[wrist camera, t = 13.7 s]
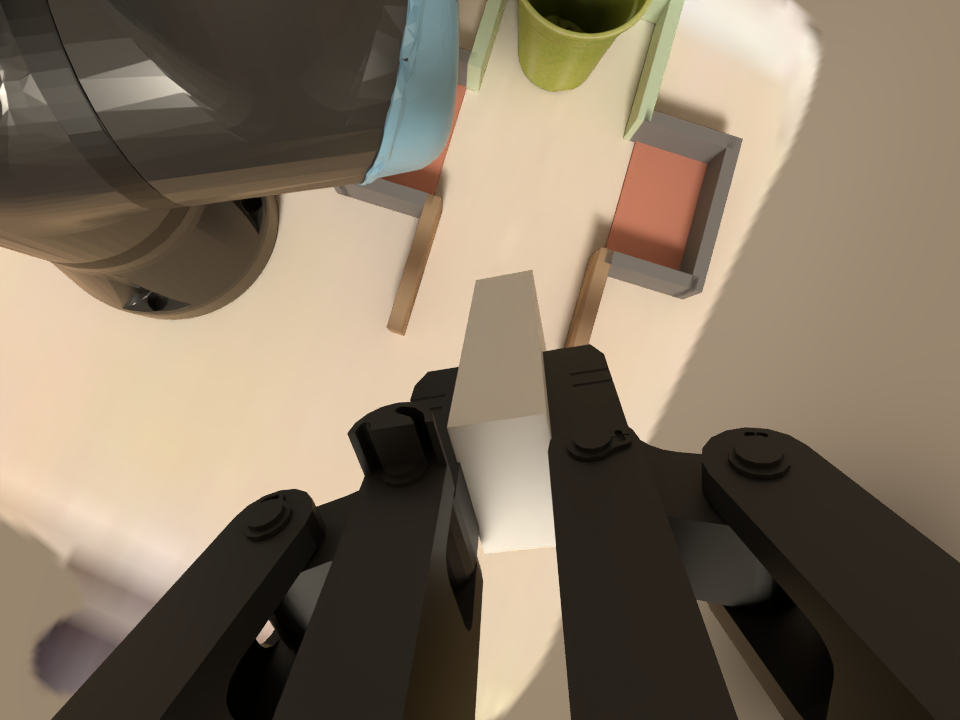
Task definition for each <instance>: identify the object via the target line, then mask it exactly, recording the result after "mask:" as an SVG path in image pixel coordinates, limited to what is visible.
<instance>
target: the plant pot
mask: <svg viewBox="0 0 960 720" xmlns="http://www.w3.org/2000/svg"><path fill="white" fill-rule="evenodd" d="M518 1H519V33H518V56H519V61H520V64H521V68H522V70H523V72H524V74H525V75H526V76H527V78H528V79H529V80H530V81H531V82H532V83H534V84H535V85H536V86H538V87H540V88H542V89H544V90H547V91H551V92H555V91H562V90H572V89H574V88H576V87H578V86H579V85H581V84H582V83H583V82H584V81H585V80H586V79H587V78H588V76H589V75H590V73H591V72H592V71H593V69H594V68H595V67H596V65H597V64H598V62H599V61H600V59H601V58H602V57H603V55H604V54H605V52H606V51H607V50H608V48H609V47H610V46H611V44H612V43H613V41H614V40H615V39H616V37H617V36H618V35H620V34H621V33H623V32H624V31H626V30H628V29H629V28H630V27H632V26H633V25H634V24H635V23H636V22H638V20H639V19H640V18H641V17H642V16H643V15H644V13H645V12H646V10H647V9H648V7H649V6H650V4H651V2H652V0H518ZM565 28H570V29H572V30H574V31H575V32H573V31H569V30H566V29H565Z"/></svg>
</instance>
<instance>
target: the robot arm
mask: <svg viewBox="0 0 960 720" xmlns="http://www.w3.org/2000/svg"><path fill="white" fill-rule="evenodd" d="M458 62H459V3H458V0H0V247H4V248H7V249H10V250H14V251H17V252H20V253H23V254H27V255H30V256H33V257H36V258H40V259H44V260H47V261H50V262H51V263H53V264H54V265H55V266H56V267H57V268H58V269H60V270H61V271H62V272H63V273H64V274H65V275H67V276H68V277H69V278H70V279H71V280H72V281H74V282H75V283H76V284H77V285H78V286H79V287H81V288H82V289H83V290H84V291H86V292H87V293H88V294H90V295H91V296H93V297H94V298H96V299H98V300H100V301H101V302H103V303H105V304H107V305H110V306H112V307H114V308H117V309H119V310H122V311H126V312H129V313H133V314H138V315H142V316H146V317H151V318H157V319H171V320H175V319H187V318H193V317H198V316H201V315H205V314H208V313H210V312H213V311H215V310H218V309H220V308H222V307H224V306H226V305H227V304H229V303H231V302H232V301H234V300H235V299H236V298H238V297H239V296H240V295H242V294H243V293H244V292H245V291H246V290H247V289H248V288H249V287H250V286H251V285H252V284H253V283H254V282H255V280H256V279H257V278H258V277H259V275H260V274H261V272H262V271H263V269H264V268H265V266H266V264H267V262H268V260H269V258H270V256H271V253H272V250H273V247H274V244H275V240H276V235H277V228H278V209H277V202H276V197H275V195H277V194H284V193H292V192H299V191H306V190H314V189H321V188H328V187H336V186H343V185H350V184H359V185H366V184H371V183H372V182H373V181H375V180H376V179H377V178H381V177H386V176H390V175H395V174H400V173H405V172H410V171H415V170H419V169H422V168H424V167H425V166H427V165H429V164H431V162H432V161H434V160H435V159H437V158H438V157H439V155H440V154H441V153H442V151H443V150H444V148H445V146H446V144H447V141H448V139H449V136H450V132H451V128H452V124H453V118H454V111H455V104H456V95H457V82H458ZM410 401H411V402H401V403H395V404H391V405H387V406H384V407H381V408H379V409H377V410H375V411H373V412H370V413H368V414H367V415H365V416H364V417H363V418H361V419H360V420H359V421H357V422H356V423H355V424H354V425H353V427H352V428H351V429H350V431H349V432H348V433H347V434H348V436H349V439H350V441H351V444H352V446H353V448H354V451H355V453H356V456H357V458H358V461H359V463H360V465H361V468H362V470H363V473H364V475H365V477H364V480H363V482H362V485H361V487H360V490H359V491H357V492H355V493H352V494H350V495H348V496H345V497H342V498H340V499H337V500H334V501H331V502H329V503H326V504H323V505H320V506H317V507H316V506H315V504H314V502H313V499H312V498H311V497H310V496H309V495H308V493H307V492H304V491H301V490H297V489H290V490H280V491H277V492H275V493H272V494H268V495H266V496H264V497H262V498H260V499H259V500H257V501H255V502H253V503H252V504H250V505H248V506H247V507H246V508H245V509H244V510H243V511H242V512H240V513H239V514H238V515H237V516H236V517H235V518H234V519H233V520H232V521H231V522H230V523H229V524H228V525H227V527H226V528H225V529H224V530H223V531H222V532H221V533H220V534H219V535H218V536H217V538H216V539H215V540H214V541H213V542H212V543H211V544H210V545H209V546H208V547H207V549H206V550H205V551H204V552H203V553H202V554H201V555H200V556H199V557H198V558H197V560H196V561H195V562H194V563H193V564H192V565H191V566H190V567H189V568H188V569H187V571H186V572H185V573H184V574H183V575H182V576H181V577H180V578H179V579H178V580H177V582H176V583H175V584H174V585H173V586H172V587H171V588H170V589H169V590H168V591H167V593H166V594H165V595H164V596H163V597H162V598H161V599H160V600H159V601H158V602H157V604H156V605H155V606H154V607H153V608H152V609H151V610H150V611H149V612H148V613H147V615H146V616H145V617H144V618H143V619H142V620H141V621H140V622H139V623H138V624H137V626H136V627H135V628H134V629H133V630H132V631H131V632H130V633H129V634H128V635H127V637H126V638H125V639H124V640H123V641H122V642H121V643H120V644H119V645H118V646H117V648H116V649H115V650H114V651H113V652H112V653H111V654H110V655H109V656H108V658H107V659H106V660H105V661H104V662H103V663H102V664H101V665H100V666H99V667H98V669H97V670H96V671H95V672H94V673H93V674H92V675H91V676H90V677H89V678H88V680H87V681H86V682H85V683H84V684H83V685H82V686H81V687H80V688H79V689H78V691H77V692H76V693H75V694H74V695H73V696H72V697H71V698H70V699H69V700H68V702H67V703H66V704H65V705H64V706H63V707H62V708H61V709H60V711H59V712H58V713H57V714H56V715H55V716H54V717H53V718H52V720H475V708H476V691H477V674H478V658H479V641H480V624H481V607H482V591H483V578H482V572H481V568H480V565H479V561H478V558H477V549H478V536H479V537H480V540H481V544H482V547H483V550H484V554H487V553H497V552H506V551H516V550H526V549H536V548H545V547H555V546H556V552H557V563H558V575H559V586H560V598H561V609H562V621H563V631H564V644H565V654H566V666H567V677H568V689H569V700H570V712H571V720H738V718H737V715H736V712H735V709H734V706H733V704H732V701H731V698H730V695H729V692H728V689H727V686H726V683H725V681H724V678H723V675H722V672H721V669H720V666H719V664H718V661H717V658H716V655H715V652H714V649H713V647H712V644H711V641H710V638H709V635H708V632H707V630H706V627H705V624H704V621H703V618H702V615H701V612H700V610H699V607H698V604H697V601H696V599H697V600H702V601H707V603H708V605H709V607H710V609H711V611H712V612H713V614H714V615H715V617H716V618H717V620H718V621H719V623H720V624H721V626H722V627H723V629H724V630H725V632H726V633H727V635H728V636H729V638H730V639H731V640H732V642H733V644H734V645H735V647H736V648H737V650H738V651H739V653H740V654H741V656H742V657H743V659H744V660H745V662H746V663H747V665H748V666H749V668H750V669H751V671H752V672H753V674H754V675H755V677H756V678H757V680H758V681H759V683H760V684H761V686H762V687H763V689H764V690H765V692H766V693H767V695H768V696H769V698H770V699H771V700H772V702H773V704H774V705H775V707H776V708H777V710H778V711H779V713H780V714H781V716H782V717H783V718H784V720H960V563H959V562H958V561H957V560H956V559H954V558H953V557H952V556H950V555H949V554H948V553H946V552H945V551H944V550H943V549H941V548H940V547H939V546H937V545H936V544H935V543H933V542H932V541H931V540H930V539H928V538H927V537H926V536H924V535H923V534H922V533H920V532H919V531H918V530H917V529H915V528H914V527H913V526H911V525H910V524H909V523H907V522H906V521H905V520H904V519H902V518H901V517H900V516H898V515H897V514H896V513H894V512H893V511H892V510H890V509H889V508H888V507H887V506H885V505H884V504H882V503H881V502H880V501H879V500H878V499H876V498H875V497H874V496H872V495H871V494H870V493H868V492H867V491H866V490H864V489H863V488H862V487H861V486H859V485H858V484H857V483H855V482H854V481H853V480H851V479H850V478H849V477H847V476H846V475H845V474H844V473H842V472H841V471H840V470H838V469H837V468H836V467H835V466H833V465H832V464H831V463H829V462H828V461H827V460H825V459H824V458H823V457H822V456H820V455H819V454H818V453H816V452H815V451H814V450H812V449H811V448H810V447H809V446H807V445H806V444H804V443H802V442H800V441H799V440H797V439H795V438H793V437H791V436H790V435H787V434H783V433H780V432H777V431H773V430H769V429H761V428H740V429H733V430H726V431H724V432H722V433H720V434H718V435H716V436H714V437H711V439H710V440H709V441H708V442H707V443H706V445H705V446H704V447H703V449H702V454H693V453H682V452H674V451H668V450H662V449H659V448H656V447H653V446H650V445H648V444H647V443H645V442H643V441H641V440H640V439H639V438H638V436H637V435H636V434H635V432H634V431H633V429H631V428H629V427H628V425H627V422H626V419H625V416H624V413H623V410H622V407H621V404H620V401H619V398H618V395H617V392H616V389H615V386H614V383H613V381H612V377H611V374H610V371H609V368H608V365H607V362H606V359H605V356H604V354H603V353H602V352H600V351H599V350H597V349H596V348H595V347H593V346H592V345H590V344H588V345H581V346H575V347H569V348H563V349H557V350H550V351H546V347H545V341H544V335H543V329H542V323H541V318H540V312H539V306H538V300H537V294H536V289H535V283H534V277H533V271H532V270H529V271H524V272H518V273H513V274H508V275H502V276H497V277H492V278H486V279H481V280H476V283H475V288H474V293H473V298H472V303H471V308H470V313H469V318H468V323H467V328H466V334H465V339H464V344H463V349H462V354H461V359H460V364H459V367H456V368H449V369H443V370H437V371H431V372H428V373H427V374H426V375H425V376H424V377H423V378H422V379H421V380H420V381H419V382H418V383H417V384H416V385H415V387H414V390H413V393H412V396H411V399H410ZM268 620H269V621H270V622H271V624H272V626H273V627H274V629H275V630H274V631H273V633H272V634H271V636H270V637H269V638H268V639H267V640H266V641H265V642H264V643H262V644H259V643H258V642H257V640H256V637H257V636H258V634H259V633H260V632H261V630H262V629H263V627H264V626H265V624H266V623H267V621H268Z"/></svg>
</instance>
